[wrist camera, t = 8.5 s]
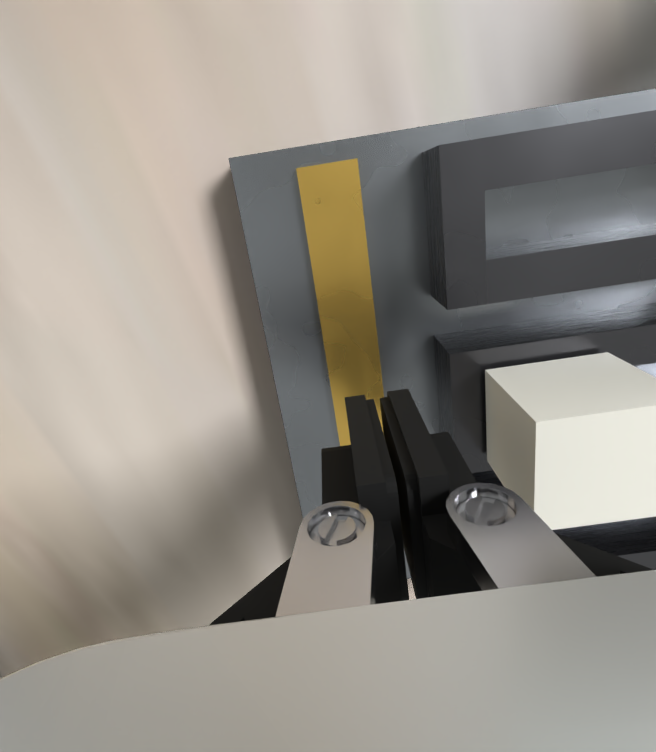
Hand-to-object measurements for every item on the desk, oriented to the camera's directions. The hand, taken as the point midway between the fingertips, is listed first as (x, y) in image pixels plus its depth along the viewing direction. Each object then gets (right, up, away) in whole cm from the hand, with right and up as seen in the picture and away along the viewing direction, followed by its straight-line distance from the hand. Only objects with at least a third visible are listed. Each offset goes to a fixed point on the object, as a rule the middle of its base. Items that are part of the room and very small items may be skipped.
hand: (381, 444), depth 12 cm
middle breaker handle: (+4, +2, +2) cm, 5 cm away
